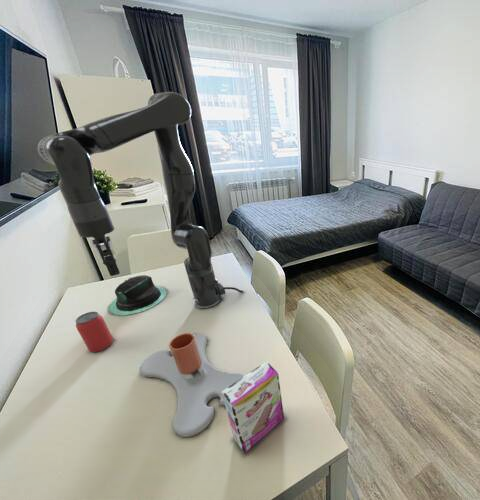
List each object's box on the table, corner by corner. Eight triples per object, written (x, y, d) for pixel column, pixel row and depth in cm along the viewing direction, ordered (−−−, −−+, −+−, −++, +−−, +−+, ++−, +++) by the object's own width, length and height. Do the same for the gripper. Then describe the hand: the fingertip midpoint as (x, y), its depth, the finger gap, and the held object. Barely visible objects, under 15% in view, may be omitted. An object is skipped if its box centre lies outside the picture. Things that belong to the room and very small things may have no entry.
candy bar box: (245, 456, 59) (231, 407, 52) (233, 439, 62) (219, 391, 55) (286, 418, 66) (278, 371, 59) (274, 405, 69) (266, 359, 62)
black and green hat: (147, 313, 103) (94, 317, 103) (175, 306, 122) (130, 309, 121) (146, 274, 104) (93, 278, 103) (174, 273, 123) (129, 276, 122)
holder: (183, 446, 61) (177, 433, 59) (137, 366, 82) (131, 354, 79) (255, 389, 74) (253, 376, 72) (199, 332, 94) (196, 321, 92)
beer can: (100, 354, 86) (84, 325, 81) (83, 351, 88) (67, 322, 82) (118, 339, 92) (105, 311, 87) (103, 337, 93) (88, 309, 88)
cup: (198, 353, 79) (190, 329, 75) (205, 365, 75) (197, 341, 71) (175, 364, 76) (166, 340, 72) (182, 378, 72) (172, 353, 68)
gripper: (111, 219, 69) (132, 273, 76) (105, 208, 79) (125, 257, 86) (72, 226, 65) (99, 283, 72) (72, 214, 75) (95, 265, 82)
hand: (113, 269), depth 79 cm, fingers open, 8 cm apart
